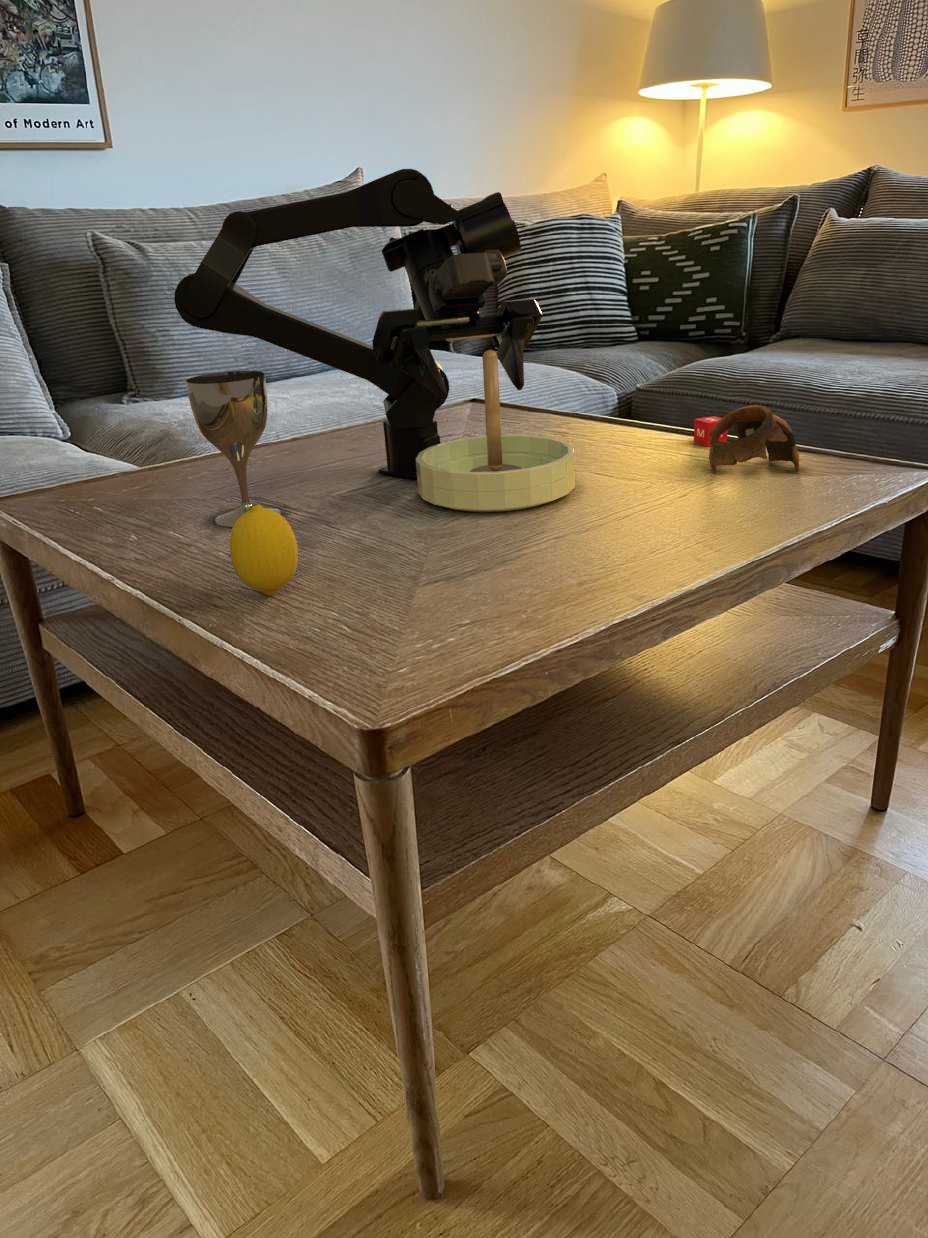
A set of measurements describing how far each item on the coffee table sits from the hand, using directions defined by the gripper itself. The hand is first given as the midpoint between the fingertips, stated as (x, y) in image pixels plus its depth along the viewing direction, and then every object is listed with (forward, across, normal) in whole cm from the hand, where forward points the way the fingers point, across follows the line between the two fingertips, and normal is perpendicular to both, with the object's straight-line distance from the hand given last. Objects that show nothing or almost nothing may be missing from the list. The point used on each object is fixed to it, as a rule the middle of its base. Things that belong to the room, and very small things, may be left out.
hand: (483, 392), depth 98 cm
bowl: (+8, +1, +8) cm, 11 cm away
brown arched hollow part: (+15, +29, 0) cm, 33 cm away
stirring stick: (+8, +1, +7) cm, 11 cm away
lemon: (+20, -29, -3) cm, 36 cm away
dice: (+6, +33, +9) cm, 35 cm away
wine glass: (+3, -25, +14) cm, 29 cm away
